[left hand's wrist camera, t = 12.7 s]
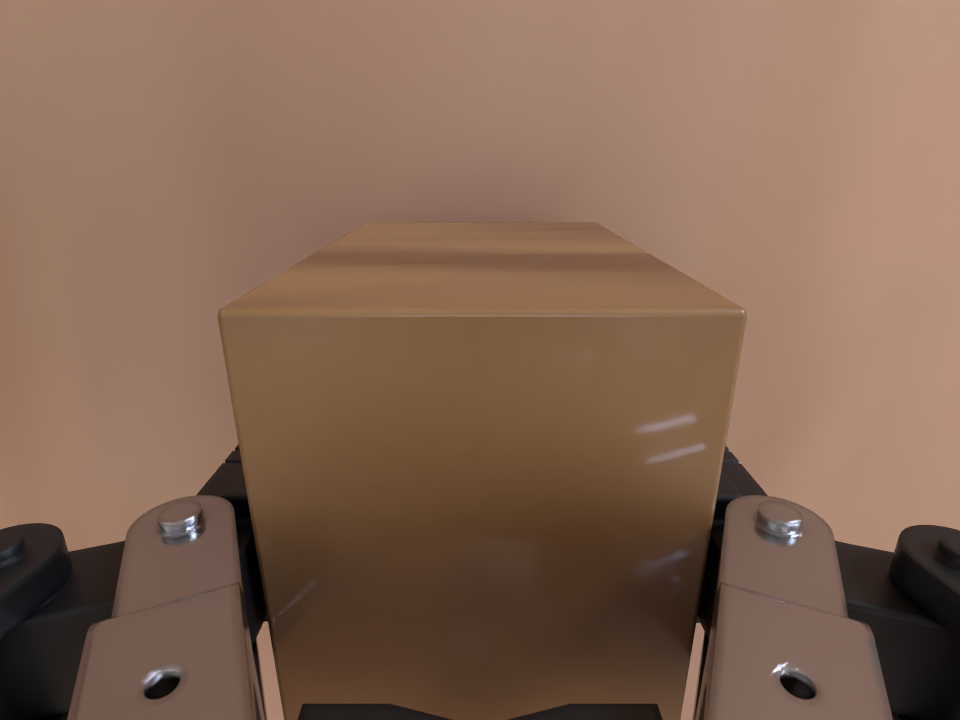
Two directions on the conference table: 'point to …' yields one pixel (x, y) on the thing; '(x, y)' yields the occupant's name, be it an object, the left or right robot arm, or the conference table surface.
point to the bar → (482, 466)
